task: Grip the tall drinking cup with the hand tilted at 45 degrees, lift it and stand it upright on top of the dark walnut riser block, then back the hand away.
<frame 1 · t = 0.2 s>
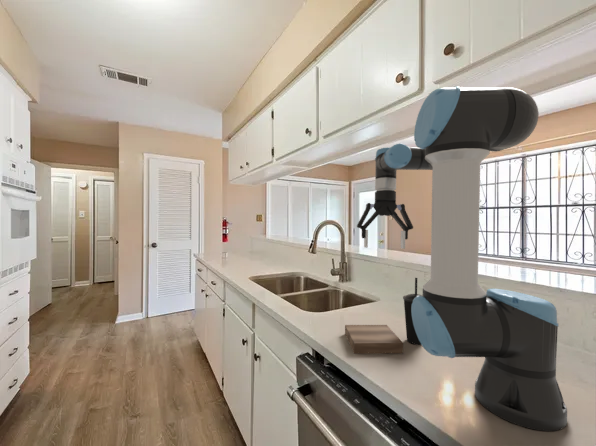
hand: (384, 248, 108), 28 cm above the worktop, tool pointing down, fingers open, 13 cm apart
walnut riser: (371, 342, 90), on the worktop
drinking cup: (415, 342, 91), on the worktop
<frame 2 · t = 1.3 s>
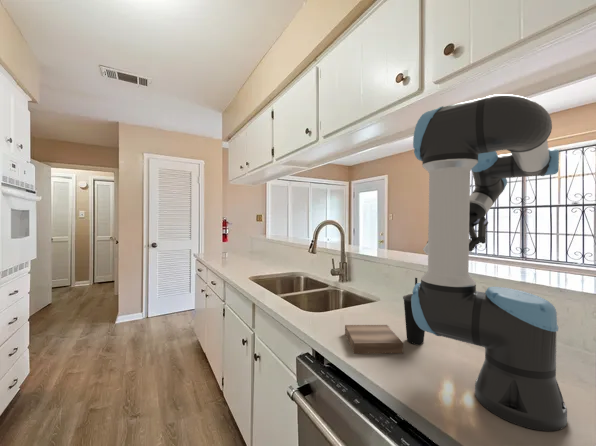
hand: (441, 254, 95), 27 cm above the worktop, tool tilted 45°, fingers open, 13 cm apart
nothing on the worktop moved.
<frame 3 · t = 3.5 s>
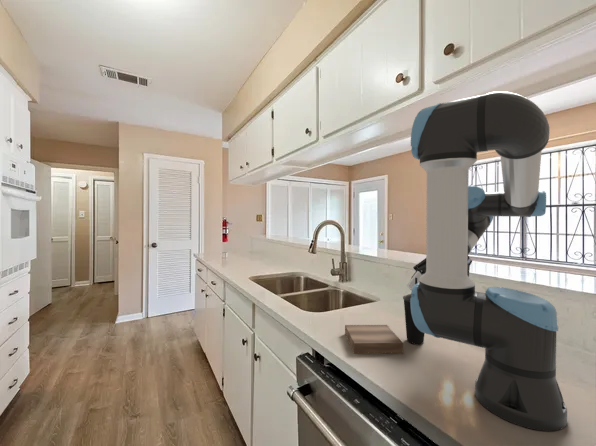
hand: (424, 292, 93), 15 cm above the worktop, tool tilted 45°, fingers open, 13 cm apart
nothing on the worktop moved.
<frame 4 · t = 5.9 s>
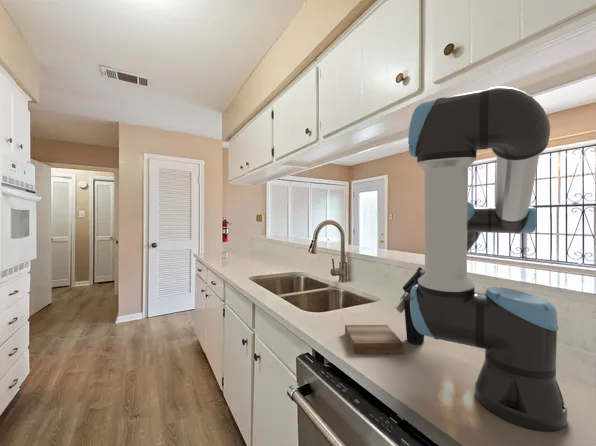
hand: (406, 314, 90), 9 cm above the worktop, tool tilted 45°, fingers closed on drinking cup, 7 cm apart
drinking cup: (415, 342, 91), on the worktop, touching gripper
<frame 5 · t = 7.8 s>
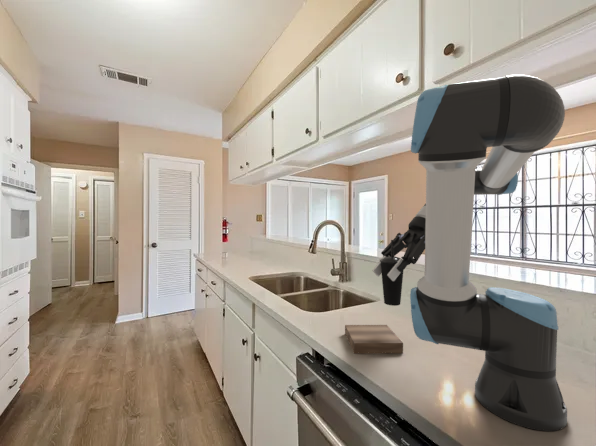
hand: (382, 275, 90), 21 cm above the worktop, tool tilted 45°, fingers closed on drinking cup, 7 cm apart
drinking cup: (392, 304, 91), point 12 cm above the worktop, touching gripper
when the fingers open (13 cm above the worktop, at t = 10.0 s): drinking cup drops 1 cm, resting on walnut riser.
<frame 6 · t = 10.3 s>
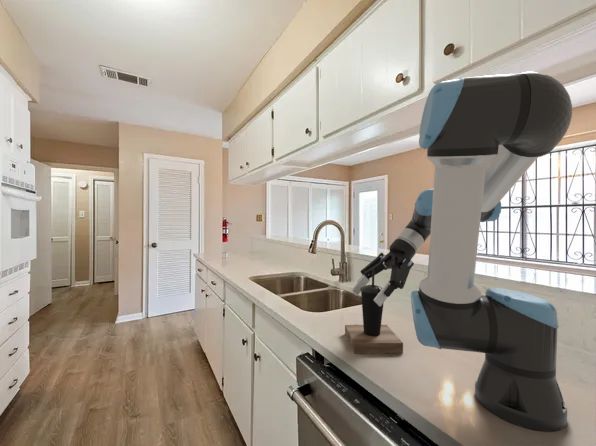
hand: (364, 297, 88), 14 cm above the worktop, tool tilted 45°, fingers open, 11 cm apart
drinking cup: (371, 333, 90), point 3 cm above the worktop, touching walnut riser
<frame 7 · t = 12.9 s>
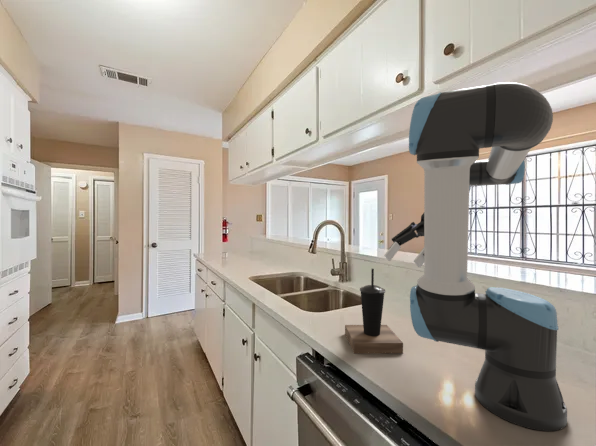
hand: (400, 261, 93), 25 cm above the worktop, tool tilted 45°, fingers open, 13 cm apart
nothing on the worktop moved.
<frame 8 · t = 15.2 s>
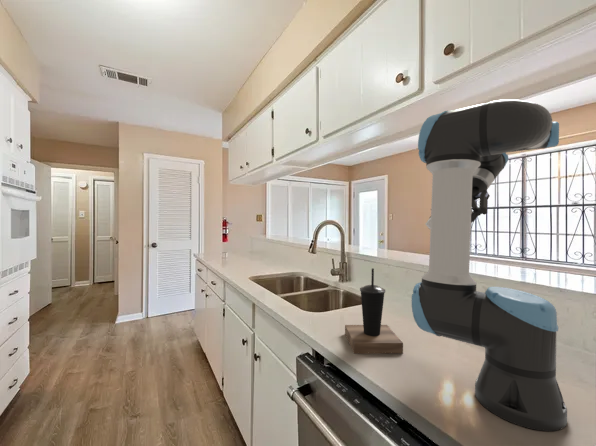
hand: (443, 227, 97), 36 cm above the worktop, tool tilted 45°, fingers open, 13 cm apart
nothing on the worktop moved.
at the end: drinking cup inside the target area on the walnut riser (0.0 cm from its centre), point 2.8 cm above the walnut riser's base; drinking cup tilted 0°; the gripper is holding nothing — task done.
